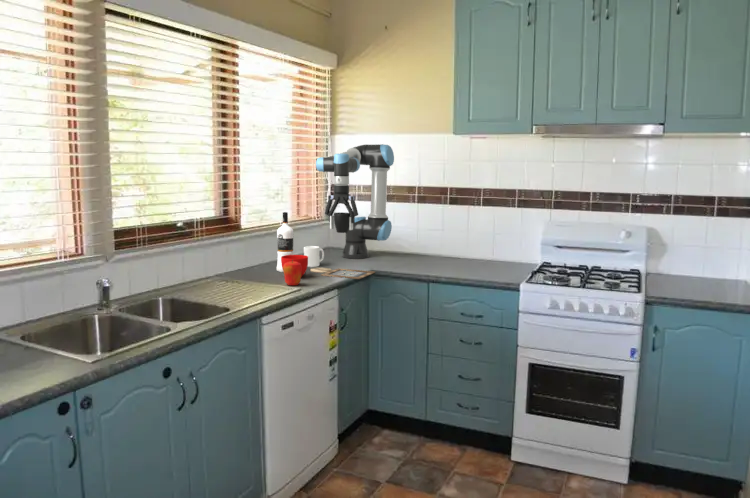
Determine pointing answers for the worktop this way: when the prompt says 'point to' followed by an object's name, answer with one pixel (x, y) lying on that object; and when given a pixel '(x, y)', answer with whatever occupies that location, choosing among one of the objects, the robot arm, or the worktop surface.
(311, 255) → the cup
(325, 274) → the brown wooden frame
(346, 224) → the mug
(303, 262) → the ceramic cup
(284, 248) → the vodka
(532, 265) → the worktop surface
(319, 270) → the coaster
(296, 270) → the apple
